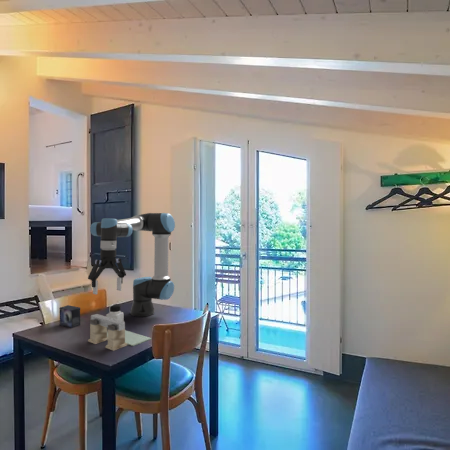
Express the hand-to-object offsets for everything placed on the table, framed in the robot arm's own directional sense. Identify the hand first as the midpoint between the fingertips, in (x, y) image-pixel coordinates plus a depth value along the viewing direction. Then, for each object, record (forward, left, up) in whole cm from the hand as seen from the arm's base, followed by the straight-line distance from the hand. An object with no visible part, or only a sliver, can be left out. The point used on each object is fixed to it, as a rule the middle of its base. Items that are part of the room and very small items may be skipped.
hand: (107, 292), depth 174 cm
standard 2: (+1, +8, -25) cm, 27 cm away
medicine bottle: (-19, -19, -26) cm, 37 cm away
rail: (+1, +1, -16) cm, 16 cm away
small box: (-4, -40, -26) cm, 48 cm away
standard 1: (+1, -6, -25) cm, 26 cm away
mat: (-10, +1, -25) cm, 27 cm away
